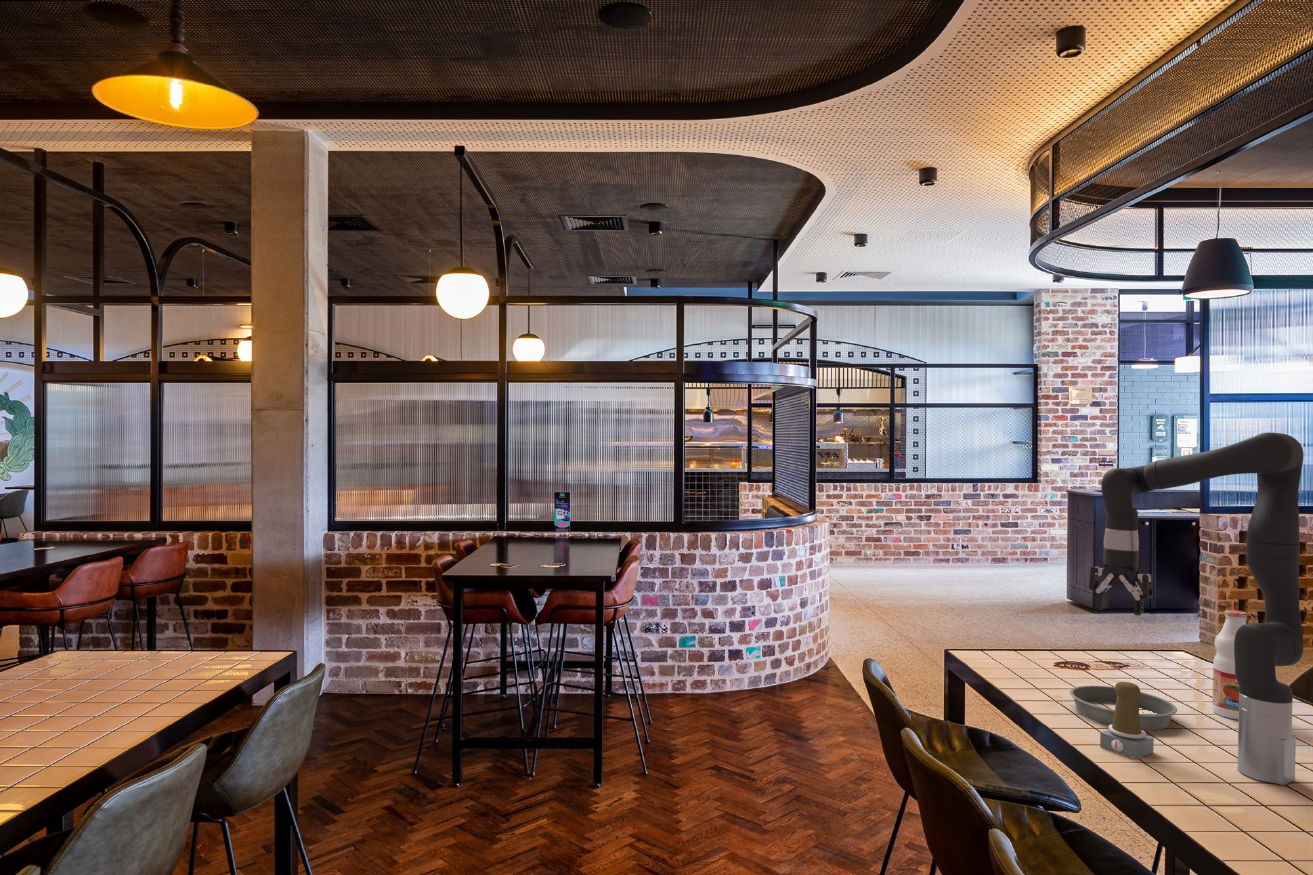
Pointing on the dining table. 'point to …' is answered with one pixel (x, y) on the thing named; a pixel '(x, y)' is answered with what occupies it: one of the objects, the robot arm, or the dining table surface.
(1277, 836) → the dining table surface
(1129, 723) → the olive pepper mill
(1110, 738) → the scale
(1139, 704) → the cake pan
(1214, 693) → the fruit juice
